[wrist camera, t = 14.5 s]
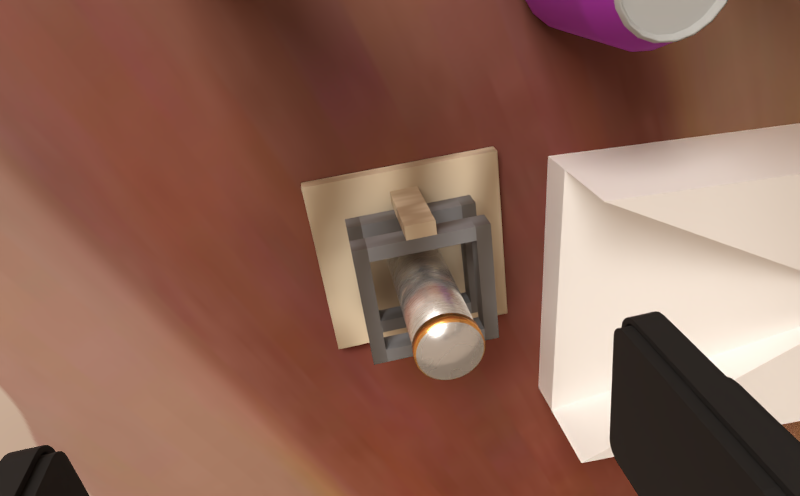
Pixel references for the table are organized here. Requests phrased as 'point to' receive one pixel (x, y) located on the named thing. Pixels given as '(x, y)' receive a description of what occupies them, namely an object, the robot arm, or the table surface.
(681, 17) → the beverage can
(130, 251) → the table surface
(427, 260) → the steel tube
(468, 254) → the collar stand
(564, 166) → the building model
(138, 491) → the table surface
